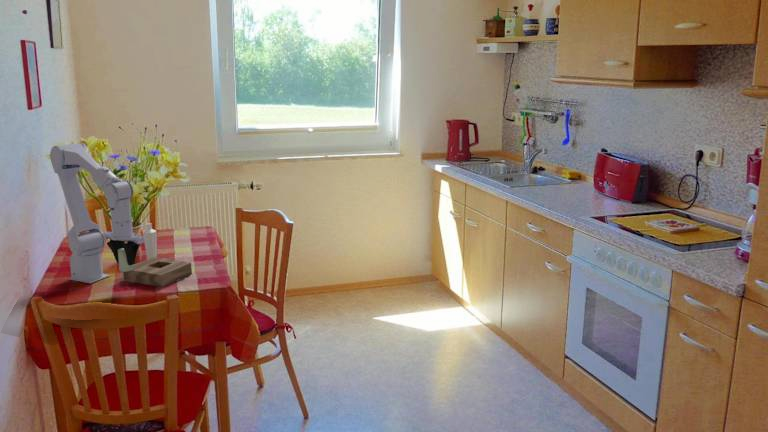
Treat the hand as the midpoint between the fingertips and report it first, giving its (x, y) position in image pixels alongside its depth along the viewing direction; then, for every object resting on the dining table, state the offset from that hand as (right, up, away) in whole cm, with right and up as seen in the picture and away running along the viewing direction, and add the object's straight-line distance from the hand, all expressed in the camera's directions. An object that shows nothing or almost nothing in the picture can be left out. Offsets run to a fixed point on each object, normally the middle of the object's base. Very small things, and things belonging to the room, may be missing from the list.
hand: (125, 263), depth 197 cm
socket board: (+5, -5, +14) cm, 16 cm away
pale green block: (0, -2, 0) cm, 2 cm away
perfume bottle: (-1, -3, +26) cm, 26 cm away
